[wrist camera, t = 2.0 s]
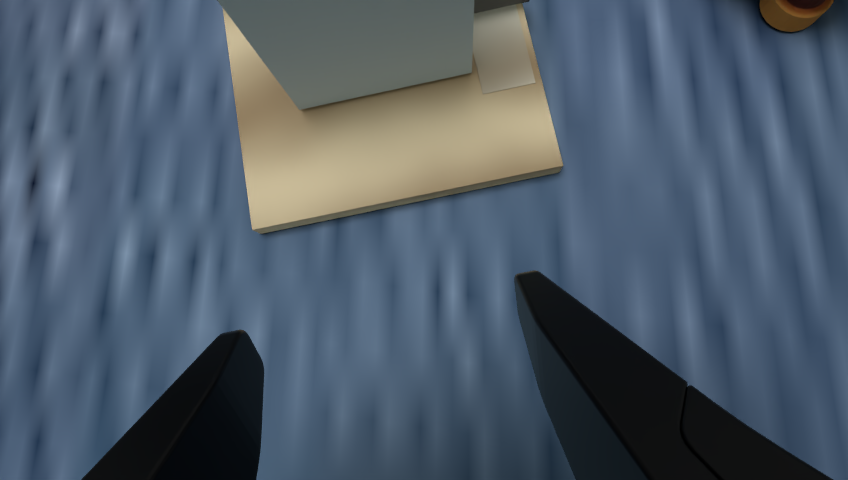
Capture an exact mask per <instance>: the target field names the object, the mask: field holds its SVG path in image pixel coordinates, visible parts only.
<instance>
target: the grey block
mask: <svg viewBox="0 0 848 480" xmlns="http://www.w3.org/2000/svg"><path fill="white" fill-rule="evenodd" d="M217 1H218V2H219V3H220V5H221V6H222V7H223V9H224V10H225V11H226V13H227V14H228V15H229V17H230V18H231V19H232V21H233V22H234V23H235V25H236V26H237V27H238V29H239V30H240V31H241V33H242V34H243V35H244V37H245V38H246V39H247V41H248V42H249V43H250V45H251V46H252V47H253V49H254V50H255V51H256V53H257V54H258V55H259V57H260V58H261V59H262V61H263V62H264V63H265V65H266V66H267V67H268V69H269V70H270V71H271V73H272V74H273V76H274V77H275V78H276V80H277V81H278V82H279V84H280V85H281V86H282V88H283V89H284V90H285V92H286V93H287V94H288V96H289V97H290V98H291V100H292V101H293V102H294V104H295V105H296V106H297V108H298V109H299V110H301V109H306V108H310V107H315V106H320V105H324V104H329V103H333V102H338V101H343V100H347V99H352V98H357V97H361V96H366V95H371V94H375V93H380V92H384V91H389V90H394V89H398V88H403V87H408V86H412V85H417V84H422V83H426V82H431V81H435V80H440V79H445V78H449V77H454V76H459V75H463V74H468V73H472V54H473V25H474V13H479V12H484V11H488V10H493V9H497V8H502V7H506V6H511V5H515V4H520V3H524V2H529V0H217Z"/></svg>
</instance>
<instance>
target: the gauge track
mask: <svg viewBox="0 0 848 480" xmlns="http://www.w3.org/2000/svg"><path fill="white" fill-rule="evenodd" d="M223 13H224V21H225V28H226V36H227V43H228V51H229V58H230V66H231V73H232V81H233V88H234V96H235V104H236V111H237V119H238V126H239V134H240V141H241V149H242V156H243V164H244V171H245V179H246V186H247V194H248V201H249V209H250V217H251V224H252V230H254V231H256V232H258V233H260V234H263V233H268V232H273V231H278V230H283V229H287V228H292V227H297V226H302V225H307V224H312V223H316V222H321V221H326V220H331V219H336V218H341V217H345V216H350V215H355V214H360V213H365V212H370V211H375V210H379V209H384V208H389V207H394V206H399V205H404V204H408V203H413V202H418V201H423V200H428V199H433V198H438V197H442V196H447V195H452V194H457V193H462V192H467V191H471V190H476V189H481V188H486V187H491V186H496V185H501V184H505V183H510V182H515V181H520V180H525V179H530V178H534V177H539V176H544V175H549V174H554V173H559V172H560V170H561V168H562V167H563V163H562V159H561V155H560V151H559V147H558V143H557V139H556V135H555V131H554V127H553V123H552V119H551V115H550V111H549V108H548V104H547V100H546V96H545V92H544V88H543V84H542V80H541V76H540V72H539V68H538V64H537V60H536V56H535V52H534V48H533V44H532V41H531V37H530V33H529V29H528V25H527V21H526V17H525V13H524V9H523V5H522V3H520V4H515V5H511V6H506V7H502V8H497V9H493V10H488V11H484V12H479V13H474V25H473V54H472V73H468V74H463V75H459V76H454V77H449V78H445V79H440V80H435V81H431V82H426V83H422V84H417V85H412V86H408V87H403V88H398V89H394V90H389V91H384V92H380V93H375V94H371V95H366V96H361V97H357V98H352V99H347V100H343V101H338V102H333V103H329V104H324V105H320V106H315V107H310V108H306V109H301V110H299V109H298V108H297V106H296V105H295V104H294V102H293V101H292V100H291V98H290V97H289V96H288V94H287V93H286V92H285V90H284V89H283V88H282V86H281V85H280V84H279V82H278V81H277V80H276V78H275V77H274V76H273V74H272V73H271V71H270V70H269V69H268V67H267V66H266V65H265V63H264V62H263V61H262V59H261V58H260V57H259V55H258V54H257V53H256V51H255V50H254V49H253V47H252V46H251V45H250V43H249V42H248V41H247V39H246V38H245V37H244V35H243V34H242V33H241V31H240V30H239V29H238V27H237V26H236V25H235V23H234V22H233V21H232V19H231V18H230V17H229V15H228V14H227V13H226V11H225V10H224V9H223Z"/></svg>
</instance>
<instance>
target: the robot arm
mask: <svg viewBox="0 0 848 480" xmlns="http://www.w3.org/2000/svg"><path fill="white" fill-rule="evenodd" d="M514 283H515V292H516V301H517V309H518V315H519V319H520V323H521V327H522V330H523V334H524V337H525V341H526V345H527V348H528V352H529V355H530V359H531V362H532V366H533V370H534V373H535V377H536V380H537V384H538V387H539V390H540V393H541V396H542V399H543V402H544V404H545V407H546V409H547V412H548V414H549V417H550V419H551V421H552V424H553V426H554V429H555V431H556V433H557V436H558V438H559V440H560V443H561V445H562V448H563V450H564V452H565V455H566V457H567V459H568V462H569V464H570V467H571V469H572V471H573V474H574V476H575V479H576V480H833V479H831V478H830V477H828V476H826V475H825V474H823V473H822V472H820V471H818V470H817V469H815V468H813V467H812V466H810V465H809V464H807V463H805V462H804V461H802V460H800V459H799V458H797V457H796V456H794V455H792V454H791V453H789V452H788V451H786V450H784V449H783V448H781V447H780V446H778V445H777V444H775V443H774V442H772V441H770V440H769V439H767V438H766V437H764V436H763V435H761V434H760V433H758V432H757V431H755V430H753V429H752V428H750V427H749V426H747V425H746V424H744V423H743V422H741V421H740V420H739V419H737V418H736V417H734V416H733V415H732V414H730V413H729V412H727V411H726V410H725V409H723V408H722V407H720V406H719V405H718V404H716V403H715V402H713V401H712V400H711V399H709V398H708V397H707V396H705V395H704V394H703V393H701V392H700V391H699V390H697V389H696V388H695V387H693V386H691V385H689V386H688V387H687V385H688V384H687V382H686V381H685V380H684V379H682V378H681V377H679V376H678V375H677V374H675V373H674V372H673V371H671V370H670V369H669V368H667V367H666V366H665V365H663V364H662V363H661V362H659V361H658V360H657V359H655V358H654V357H653V356H651V355H650V354H649V353H647V352H646V351H645V350H643V349H642V348H641V347H639V346H638V345H637V344H635V343H634V342H633V341H631V340H630V339H629V338H627V337H626V336H625V335H623V334H622V333H621V332H619V331H618V330H617V329H615V328H614V327H613V326H611V325H610V324H609V323H607V322H606V321H605V320H603V319H602V318H601V317H599V316H598V315H597V314H595V313H594V312H593V311H591V310H590V309H588V308H587V307H586V306H584V305H583V304H582V303H580V302H579V301H578V300H576V299H575V298H574V297H572V296H571V295H570V294H568V293H567V292H566V291H564V290H563V289H562V288H560V287H559V286H558V285H556V284H555V283H554V282H552V281H551V280H550V279H548V278H547V277H546V276H544V275H543V274H542V273H540V272H539V271H529V272H524V273H519V274H516V275H515V278H514ZM263 387H264V366H263V362H262V359H261V357H260V355H259V354H258V352H257V350H256V348H255V346H254V344H253V343H252V341H251V339H250V337H249V335H248V334H247V333H246V332H245V331H244V330H236V331H231V332H226V333H222V334H220V335H219V336H218V337H217V338H216V339H215V340H214V341H213V342H212V343H211V344H210V345H209V346H208V347H207V348H206V349H205V350H204V352H203V353H202V354H201V355H200V356H199V357H198V358H197V359H196V360H195V361H194V362H193V363H192V364H191V365H190V366H189V367H188V368H187V369H186V370H185V371H184V373H183V374H182V375H181V376H180V377H179V378H178V379H177V380H176V381H175V382H174V383H173V384H172V385H171V386H170V387H169V388H168V389H167V390H166V391H165V392H164V394H163V395H162V396H161V397H160V398H159V399H158V400H157V401H156V402H155V403H154V404H153V405H152V406H151V407H150V408H149V409H148V410H147V411H146V412H145V413H144V415H143V416H142V417H141V418H140V419H139V420H138V421H137V422H136V423H135V424H134V425H133V426H132V427H131V428H130V429H129V430H128V431H127V432H126V433H125V434H124V436H123V437H122V438H121V439H120V440H119V441H118V442H117V443H116V444H115V445H114V446H113V447H112V448H111V449H110V450H109V451H108V452H107V453H106V454H105V455H104V456H103V458H102V459H101V460H100V461H99V462H98V463H97V464H96V465H95V466H94V467H93V468H92V469H91V470H90V471H89V472H88V473H87V474H86V475H85V476H84V477H83V478H82V480H256V477H257V471H258V464H259V457H260V449H261V433H262V410H263Z"/></svg>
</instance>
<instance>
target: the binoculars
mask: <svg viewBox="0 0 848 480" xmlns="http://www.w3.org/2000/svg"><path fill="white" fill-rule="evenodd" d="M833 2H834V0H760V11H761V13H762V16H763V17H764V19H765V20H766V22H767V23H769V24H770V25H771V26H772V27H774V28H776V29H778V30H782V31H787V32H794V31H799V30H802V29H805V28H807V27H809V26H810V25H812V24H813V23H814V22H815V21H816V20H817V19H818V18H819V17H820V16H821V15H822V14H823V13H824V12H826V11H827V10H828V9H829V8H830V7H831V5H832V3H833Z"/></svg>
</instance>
